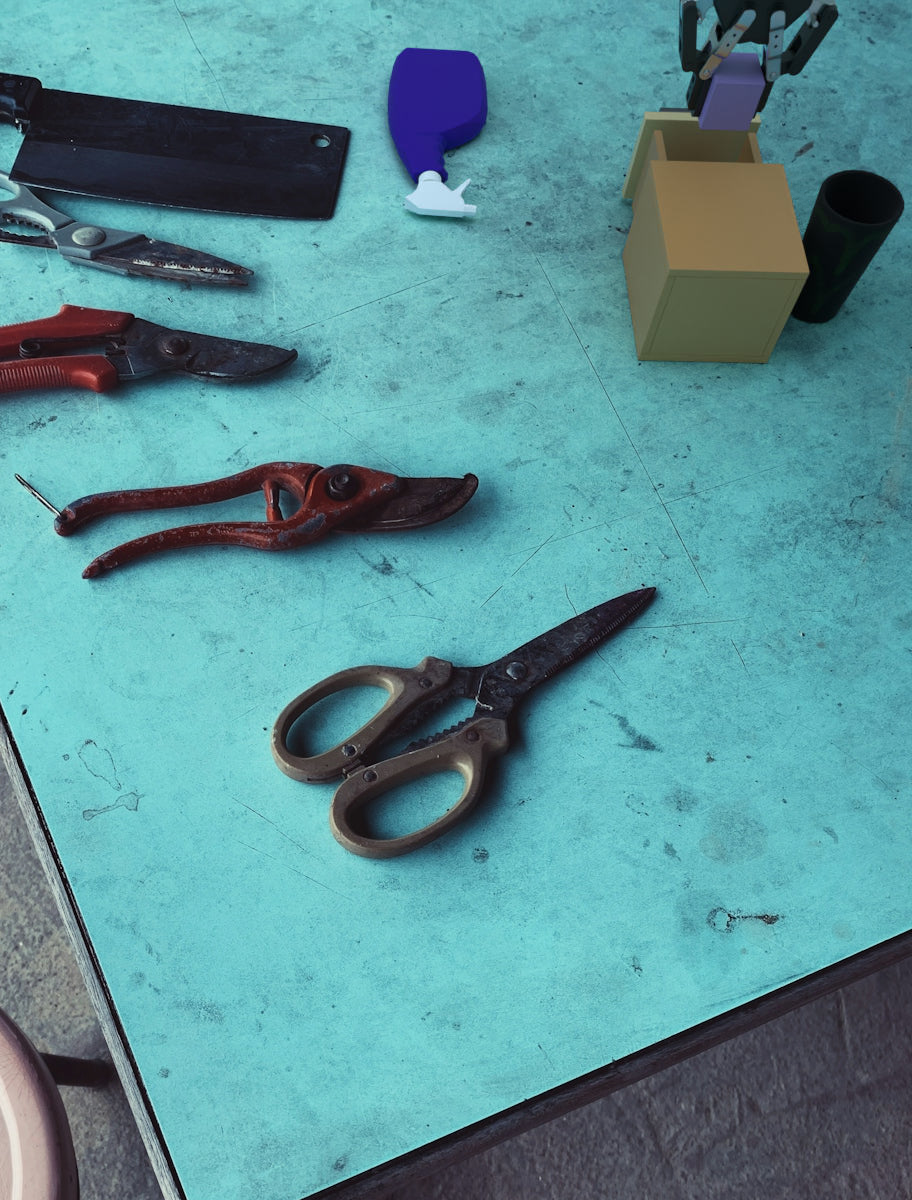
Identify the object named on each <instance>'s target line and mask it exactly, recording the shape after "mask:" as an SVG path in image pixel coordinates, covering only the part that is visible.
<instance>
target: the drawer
mask: <svg viewBox="0 0 912 1200" xmlns="http://www.w3.org/2000/svg"><path fill="white" fill-rule="evenodd" d="M761 124H762V120H761V115H760V114H756V116H755V118H754V119H752V121H751V124H750V126H749V129H748V131H735V130H701V129H700V126H699V121H698V117H692V116H691V112H690V110H688V107H664V106H662V107H659V109H658V111H644V112H643V116H642V119H641V123H640V126H639V130H638V133H637V136H636V140H635V142H634V143H635V144H634V147H633V151H632V154H631V157H630V160H629V163H628V164H629V165H628V168H627V172H626V175H625V178H624V182H623V184H622V185H623V186H622V189H621V195H622V199H623V200H633V201H632V202H631V211H632V217H634V215H635V211H636V208H637V205H638V201H639V198H640V195H641V191H642V188H643V185H644V182H645V178H646V175H647V172H648V168H649V165H650V162H651V160H657V161H694V162H732V163H764V162H763V159H762V153H761V149H760V146H759V141H758V137H757V135H758V132H759V130H760V127H761Z"/></svg>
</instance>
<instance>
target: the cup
mask: <svg viewBox="0 0 912 1200" xmlns="http://www.w3.org/2000/svg"><path fill="white" fill-rule="evenodd" d="M904 211H905V200H904V197H903V194H902V193H901V191H900V190H899V188H898V187H897V186H896V185H895V184H894V183H893V182H892V181H890V180H889V179H887V178H885V177H883V176H882V175H879V174H877V173H874V172H871V171H867V170H862V169H845V170H841V171H837V172H834V173H832V174H830V175H829V176H827V177H826V178H825V179H824V180H823V181H822V183H821V185H820V187H819V190H818V193H817V196H816V199H815V202H814V204H813V208H812V210H811V214H810V216H809V219H808V222H807V225H806V228H805V231H804V234H803V237H802V238H801V239H802V243H803V247H804V251H805V255H806V259H807V263H808V268H809V272H810V273H809V275H808V277H807V279H806V282H805V284H804V286H803V288H802V290H801V292H800V294H799V296H798V298H797V301H796V303H795V305H794V307H793V309H792V311H791V313H790V316H791V317H793V318H795V319H796V320H799V321H801V322H803V323H807V324H815V325H817V324H824V323H827V322H829V321H832V320H833V319H834V318H835V317H836V316H837V314H838V313H839V312H840V310H841V308H842V307H843V305H844V304H845V302H846V301H847V299H848V297H849V296H850V295H851V293H852V291H853V290H854V289H855V288H856V286H857V284H858V282H859V281H860V279H861V278H862V277H863V275H864V273H865V272H866V271H867V269H868V267H869V266H870V264H871V263H872V261H873V260H874V258H875V256H876V255H877V254H878V252H879V251H880V249H881V247H882V246H883V244H884V243H885V241H886V240H887V238H888V237H889V236H890V234H891V232H892V231H893V229H894V228H895V226H896V225H897V223H898V221H899V220H900V219H901V217H902V216H903V213H904Z"/></svg>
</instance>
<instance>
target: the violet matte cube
mask: <svg viewBox="0 0 912 1200" xmlns="http://www.w3.org/2000/svg"><path fill="white" fill-rule="evenodd" d="M761 65H762V64H761V61H760V57H759V53H757V52H733V51H731V53H730V54H729V56H728V57H727V58H726V59H725V58H724V59H723V60H722V62H721V63H720V65H719V66H718V68H717V69H716V71H715V72H714V74H713V75H712V76H711V78H712V82H711V85H710V88H709V91H708V94H707V97H706V100H705V103H704V106H703V109H702V112H701V115H700V117H698V121H699V126H700V129H701V130H735V131H748V129H749V126H750V124H751V121H752V118H753V116H754V113H755V110H756V108H757V105H758V102H759V100H760V97H761V94H762V92H763V89H764V87H765V81H764V77H763V73H762V69H761Z"/></svg>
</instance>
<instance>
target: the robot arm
mask: <svg viewBox="0 0 912 1200" xmlns="http://www.w3.org/2000/svg"><path fill="white" fill-rule="evenodd" d="M678 1H679V2H678V5H679V6H678V57H679V61H680V65H681V70H682V71H683V72H685V73H690V72H691V73H692V74H691V77H690V81H689V84H688V87H687V89H686V92H685V101H686V102H685V103H686V108H688V110H690V112H691V116H692V117H700V115H701V112H702V109H703V106H704V103H705V100H706V97H707V94H708V91H709V88H710V85H711V82H712V78H711V76H712V75H713V74H714V72H715V71H716V69H717V68H718V66H719V65H720V63H721V62H722V60H723V59H724V58H725V59H726V58H727V57H728V56H729V54H730V53H731V52H733V50H734V48H735V47H736V46H737V45H741V44H747V43H754V44H756V45H762V48H761V49H762V50H761V64H760V65H761V69H762V73H763V77H764V81H765V87H764V89H763V92H762V94H761V97H760V100H759V102H758V105H757V108H756V110H755V113H754V116H753V118H752V119H754V118H755V116H756V115H758V113H762V112H763V110H764V109H765V107H766V105H767V104H768V103H767V102H768V101H769V97H770V94H771V92H772V89H773V87H774V84H775V82H776V81H777V80H779V78H780V77H781V76H785V75H787V74H788V75H789V76H793V77H795V76H797V75H800V73H801V72H802V71H803V69H804V68H805V66H806V65H807V64H808V62H809V61H810V59H811V58H812V56H813V55H814V53H815V52H816V50H817V49H818V48H819V46H820V45H821V44H822V42H823V41H824V39H825V37H827V34H828V33H829V32H830V30H831V29H832V27H833V26H834V25H835V23H836V22H837V20H838V19H839V17H840V13H839V10H838V6H837V2H836V0H678ZM711 8H714V10H715V13H716V16H717V18H716V19H715V21H714V23H713V24H712V26H711V27H710V29H709V32H708V36H707V38H706V40H705V41H704V43H703V45H702V46H701V48H700V49H698V48H697V44H698V40H697V39H698V25H701V24H702V23H703V22H704V20H705V18H706V15H707V12H708V11H709V10H710V9H711ZM804 14H805V15H804ZM803 15H804V16H805V17H804V18H805V20H804V21H803V23H802V25H801V26H800V28H799V29H798V30H797V32H796V33H795V35H794V37H793V38H792V40H791V41H790V42H789V44H788V45H787V47H786V49H785V50H784V37H785V31H786V30H788V28H789V27H790V26H792V25H793V24H794V23H795V22H796V21H797V20H798V19H799V18H801V16H803Z"/></svg>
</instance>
